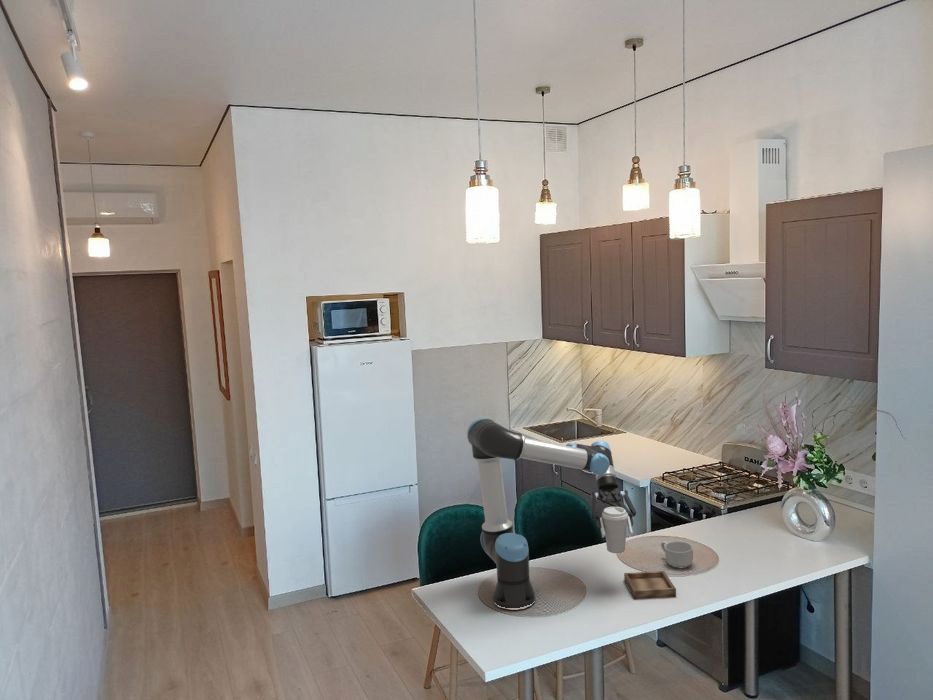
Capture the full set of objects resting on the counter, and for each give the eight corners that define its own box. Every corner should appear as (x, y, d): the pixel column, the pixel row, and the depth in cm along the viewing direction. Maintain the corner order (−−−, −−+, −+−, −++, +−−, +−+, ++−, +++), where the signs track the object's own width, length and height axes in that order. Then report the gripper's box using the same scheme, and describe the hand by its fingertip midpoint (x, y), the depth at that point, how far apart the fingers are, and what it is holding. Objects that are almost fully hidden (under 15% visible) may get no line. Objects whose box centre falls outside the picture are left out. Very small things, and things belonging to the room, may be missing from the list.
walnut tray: (634, 599, 247) (633, 591, 247) (624, 580, 262) (624, 573, 262) (676, 596, 247) (675, 588, 247) (664, 578, 262) (663, 570, 262)
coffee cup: (629, 555, 249) (628, 515, 248) (602, 554, 251) (601, 514, 250) (628, 544, 259) (627, 505, 257) (602, 544, 261) (601, 505, 259)
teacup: (699, 567, 270) (699, 547, 269) (676, 573, 266) (676, 553, 265) (676, 554, 283) (675, 535, 282) (654, 560, 279) (653, 541, 278)
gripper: (633, 482, 268) (645, 537, 254) (576, 485, 268) (586, 541, 254) (636, 472, 262) (649, 528, 248) (578, 476, 262) (588, 532, 248)
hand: (617, 535), depth 251 cm, fingers closed on coffee cup, 9 cm apart
